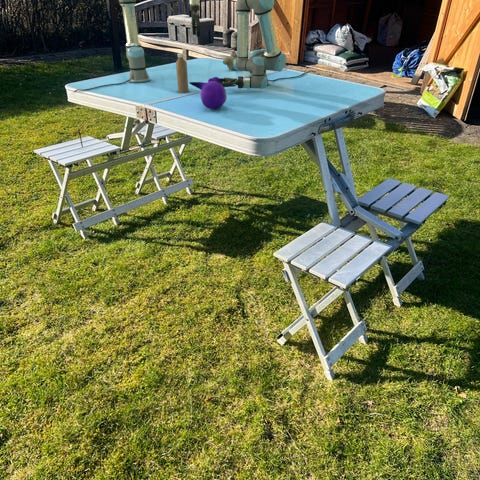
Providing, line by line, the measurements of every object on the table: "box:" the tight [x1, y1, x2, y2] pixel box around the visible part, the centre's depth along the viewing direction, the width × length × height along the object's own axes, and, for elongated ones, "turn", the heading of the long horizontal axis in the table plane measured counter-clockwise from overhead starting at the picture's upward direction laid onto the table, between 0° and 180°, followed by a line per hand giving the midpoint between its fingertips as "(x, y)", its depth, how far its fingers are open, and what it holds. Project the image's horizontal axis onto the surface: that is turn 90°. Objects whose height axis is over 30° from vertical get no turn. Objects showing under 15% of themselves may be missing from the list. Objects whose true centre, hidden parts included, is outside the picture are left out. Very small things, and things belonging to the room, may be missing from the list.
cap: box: [177, 52, 185, 58], centre depth 294 cm, size 4×4×2 cm
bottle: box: [175, 57, 190, 94], centre depth 299 cm, size 7×7×24 cm
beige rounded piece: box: [222, 50, 237, 71], centre depth 368 cm, size 21×12×15 cm, turn 120°
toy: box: [188, 76, 227, 111], centre depth 263 cm, size 16×18×27 cm
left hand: (196, 35), depth 349 cm, fingers open, 13 cm apart
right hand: (212, 82), depth 300 cm, fingers open, 13 cm apart
